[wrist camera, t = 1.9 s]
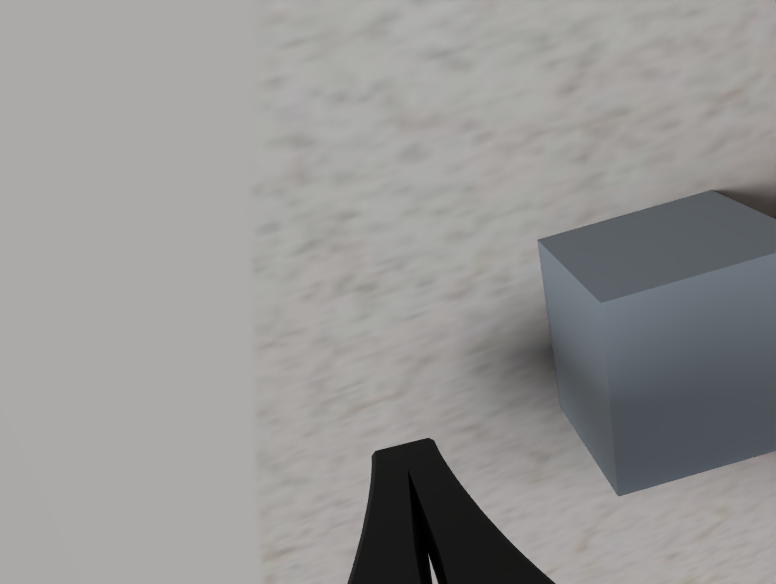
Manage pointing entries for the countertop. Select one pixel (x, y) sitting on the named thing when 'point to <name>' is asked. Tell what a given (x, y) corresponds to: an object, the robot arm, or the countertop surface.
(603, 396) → the slate block
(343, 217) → the countertop surface
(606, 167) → the countertop surface
